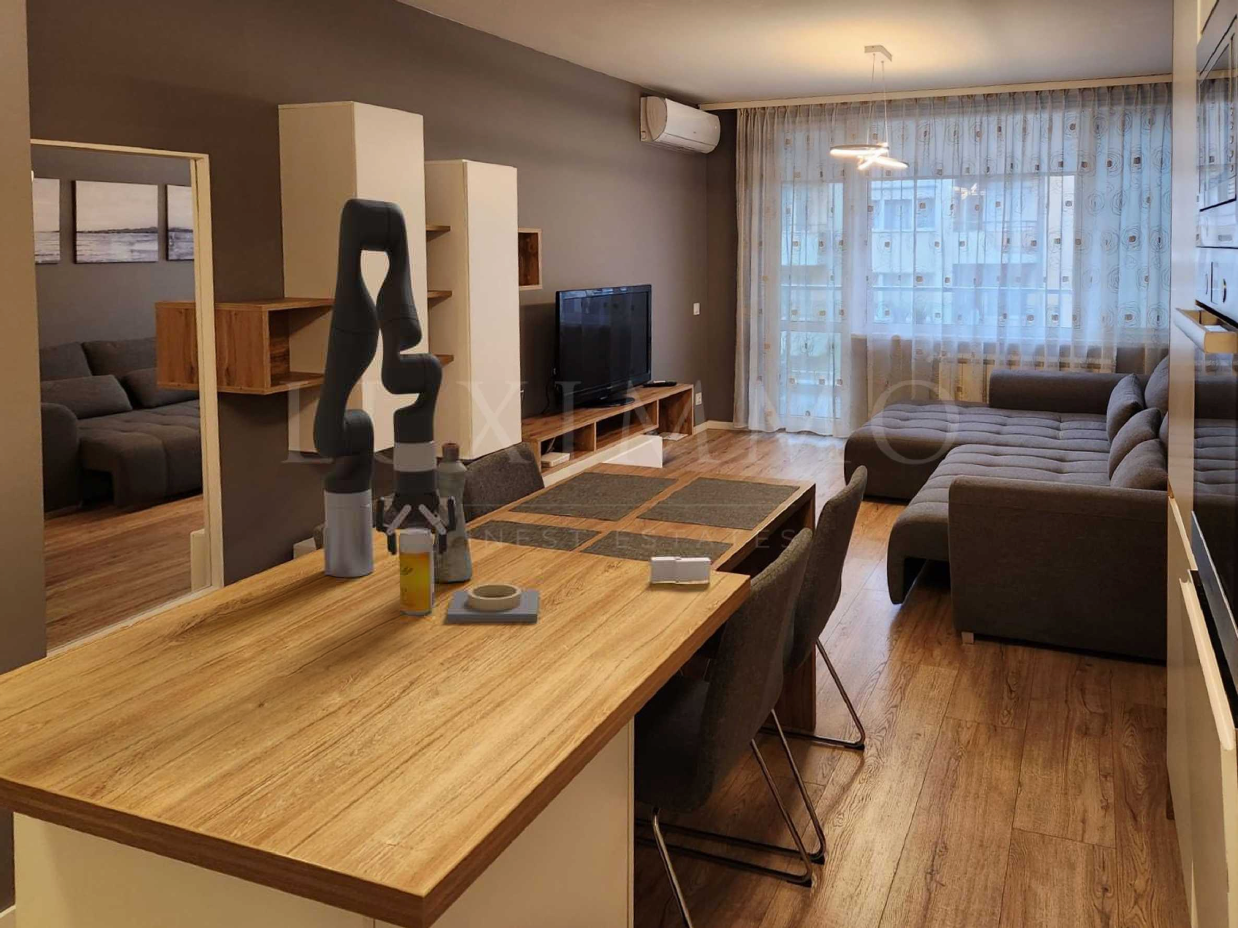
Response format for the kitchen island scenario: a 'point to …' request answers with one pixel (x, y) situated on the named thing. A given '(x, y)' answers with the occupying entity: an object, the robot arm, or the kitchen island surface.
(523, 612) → the socket board
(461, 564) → the bottle
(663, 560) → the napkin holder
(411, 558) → the beer can
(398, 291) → the robot arm
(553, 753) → the kitchen island surface
